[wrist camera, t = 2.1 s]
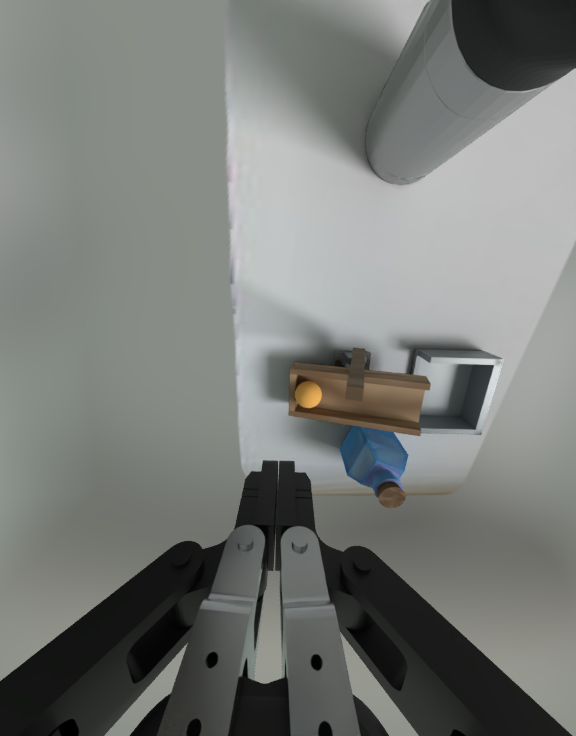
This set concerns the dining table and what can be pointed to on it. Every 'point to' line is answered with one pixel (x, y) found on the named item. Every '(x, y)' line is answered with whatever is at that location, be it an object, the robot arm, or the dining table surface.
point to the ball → (308, 394)
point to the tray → (456, 389)
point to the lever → (361, 396)
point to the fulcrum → (348, 360)
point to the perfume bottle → (376, 463)
